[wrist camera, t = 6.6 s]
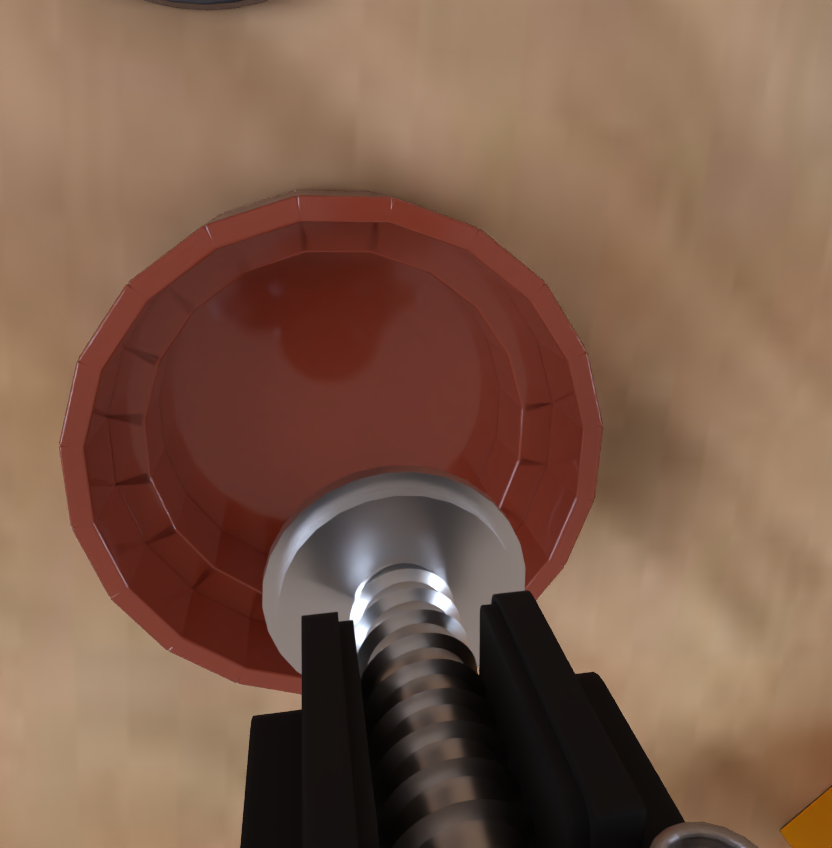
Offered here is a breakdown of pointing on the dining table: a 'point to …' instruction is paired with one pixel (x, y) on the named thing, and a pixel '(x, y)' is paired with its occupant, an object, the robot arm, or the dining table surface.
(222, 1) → the disc
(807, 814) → the orange juice
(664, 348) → the dining table surface
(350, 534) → the screw
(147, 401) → the bowl
